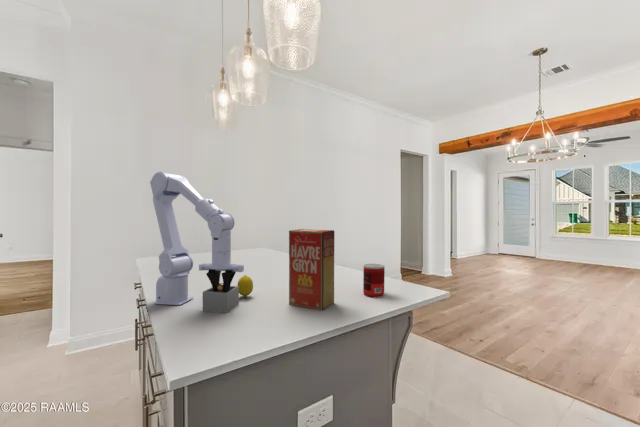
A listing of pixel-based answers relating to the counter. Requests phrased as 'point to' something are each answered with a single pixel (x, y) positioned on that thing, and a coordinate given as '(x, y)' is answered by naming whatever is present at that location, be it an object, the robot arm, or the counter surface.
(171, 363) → the counter surface
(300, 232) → the food packaging
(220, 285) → the plunger
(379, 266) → the canned food
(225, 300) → the open box
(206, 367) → the counter surface
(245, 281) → the lemon
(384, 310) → the counter surface
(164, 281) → the robot arm
